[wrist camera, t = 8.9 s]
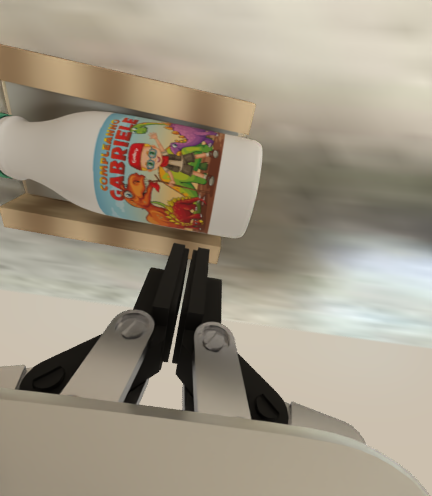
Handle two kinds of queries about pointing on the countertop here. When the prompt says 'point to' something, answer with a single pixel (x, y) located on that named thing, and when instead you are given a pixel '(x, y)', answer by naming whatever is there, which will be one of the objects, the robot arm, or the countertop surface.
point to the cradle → (116, 101)
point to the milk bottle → (138, 168)
